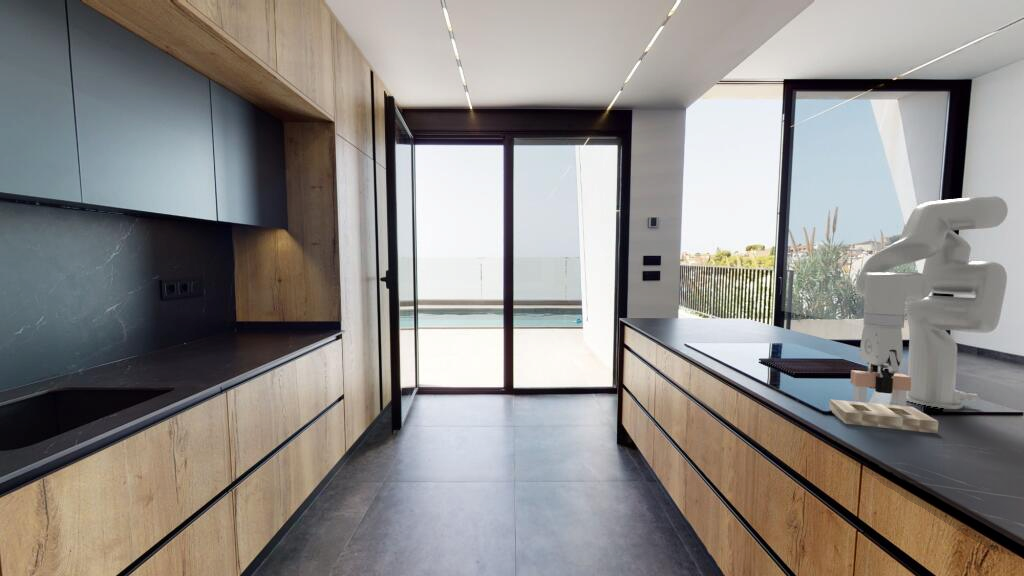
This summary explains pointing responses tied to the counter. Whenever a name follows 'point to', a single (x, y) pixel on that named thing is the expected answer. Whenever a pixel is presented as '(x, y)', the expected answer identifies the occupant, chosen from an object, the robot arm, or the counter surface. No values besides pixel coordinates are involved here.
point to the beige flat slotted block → (883, 416)
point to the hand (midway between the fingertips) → (879, 389)
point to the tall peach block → (869, 380)
